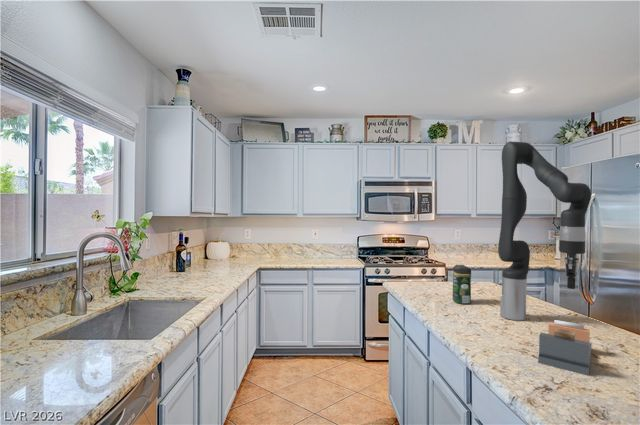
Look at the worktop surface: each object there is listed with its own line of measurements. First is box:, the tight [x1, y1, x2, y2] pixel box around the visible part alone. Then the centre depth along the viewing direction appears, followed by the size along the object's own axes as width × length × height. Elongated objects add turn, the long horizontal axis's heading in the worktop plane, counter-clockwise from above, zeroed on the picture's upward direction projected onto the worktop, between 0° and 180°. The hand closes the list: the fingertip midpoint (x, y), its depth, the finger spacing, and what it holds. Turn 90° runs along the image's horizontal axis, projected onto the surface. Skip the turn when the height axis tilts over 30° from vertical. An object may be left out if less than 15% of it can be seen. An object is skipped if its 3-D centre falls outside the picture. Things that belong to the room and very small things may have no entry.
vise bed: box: [537, 332, 592, 376], centre depth 109 cm, size 12×24×8 cm, turn 140°
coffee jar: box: [452, 264, 472, 305], centre depth 172 cm, size 10×8×19 cm
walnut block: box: [554, 328, 575, 339], centre depth 105 cm, size 5×4×7 cm
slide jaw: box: [547, 319, 591, 342], centre depth 115 cm, size 11×3×6 cm, turn 50°
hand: (571, 288), depth 121 cm, fingers closed
